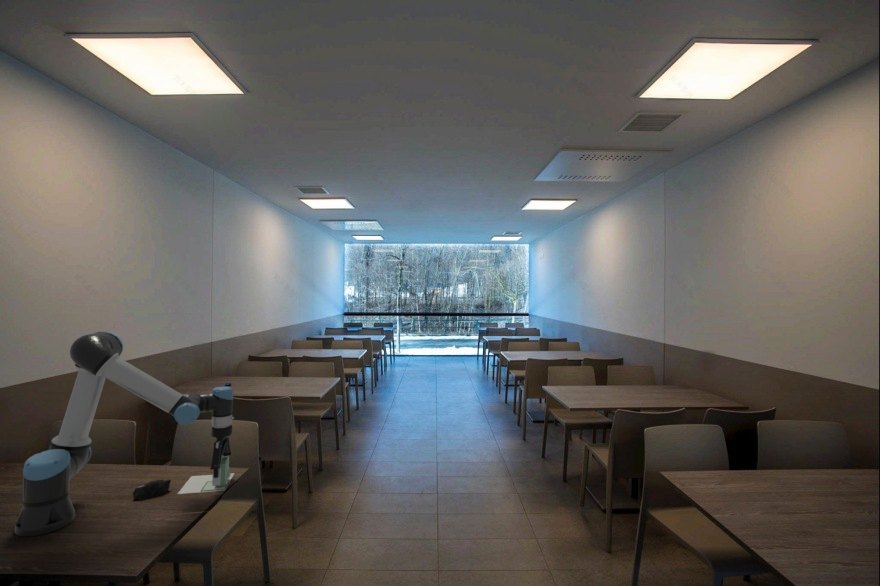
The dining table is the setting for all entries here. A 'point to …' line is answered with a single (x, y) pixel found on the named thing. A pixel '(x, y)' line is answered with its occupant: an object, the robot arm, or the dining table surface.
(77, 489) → the dining table surface
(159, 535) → the dining table surface
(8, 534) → the dining table surface
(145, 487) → the rock
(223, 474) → the green rectangular block
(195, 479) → the board
